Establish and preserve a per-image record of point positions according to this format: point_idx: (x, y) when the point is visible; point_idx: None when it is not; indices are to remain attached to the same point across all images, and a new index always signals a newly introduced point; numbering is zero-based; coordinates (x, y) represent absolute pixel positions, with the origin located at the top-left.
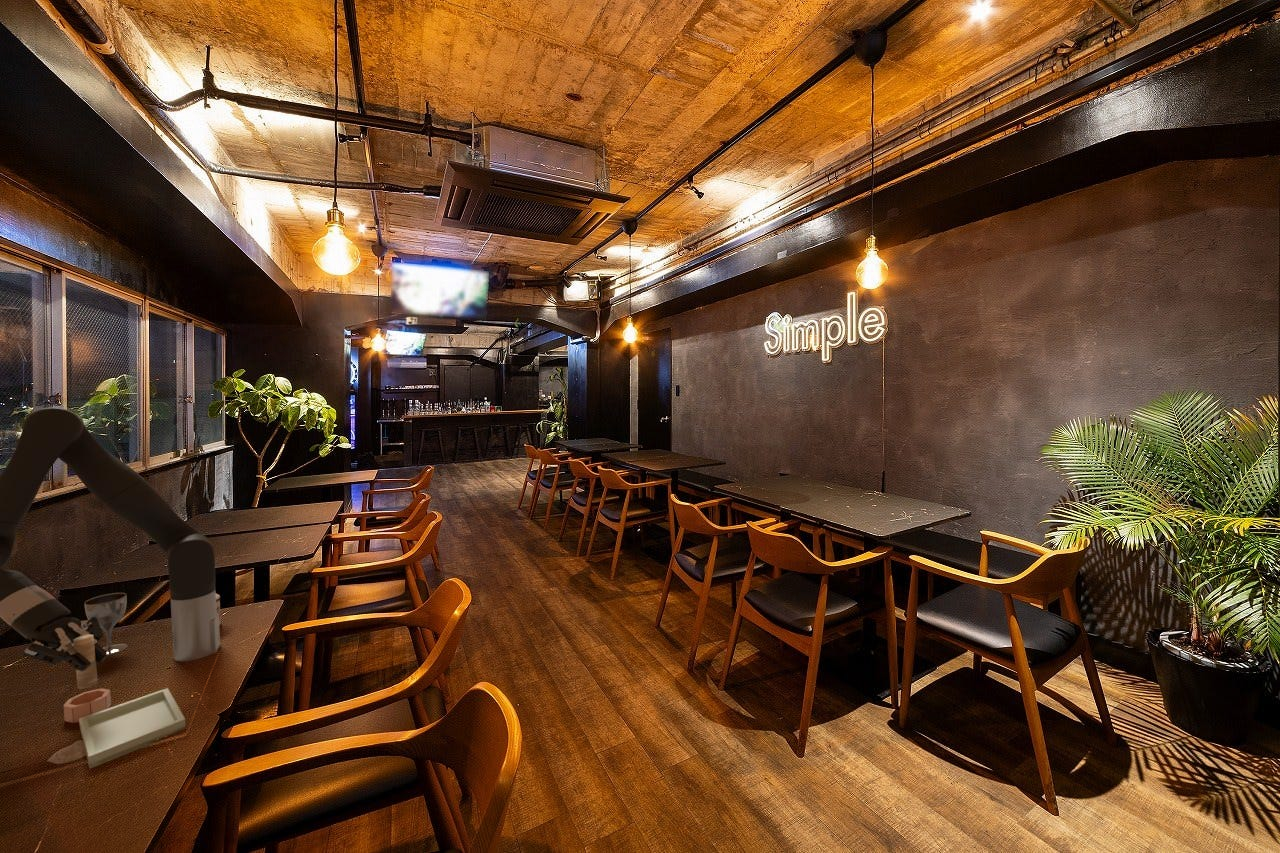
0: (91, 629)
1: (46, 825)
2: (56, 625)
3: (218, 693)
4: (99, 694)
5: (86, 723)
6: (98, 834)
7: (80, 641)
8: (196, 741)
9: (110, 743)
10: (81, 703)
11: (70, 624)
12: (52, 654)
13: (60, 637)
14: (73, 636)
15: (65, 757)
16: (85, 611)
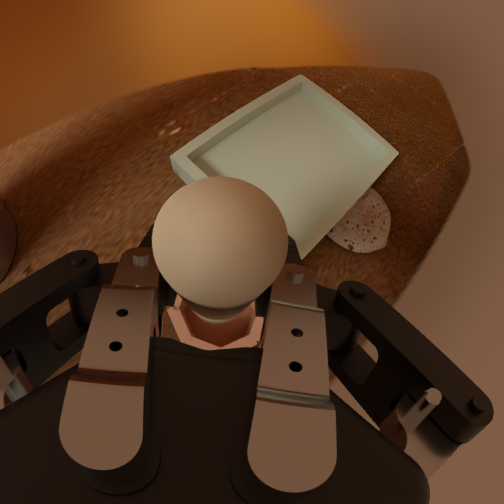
0: (30, 332)
1: (454, 151)
2: None
3: (180, 95)
4: (181, 305)
5: (313, 233)
6: (445, 104)
7: (278, 216)
8: (321, 70)
9: (347, 161)
10: (203, 340)
11: (107, 441)
12: (396, 312)
13: (318, 375)
14: (188, 351)
15: (379, 216)
16: None
